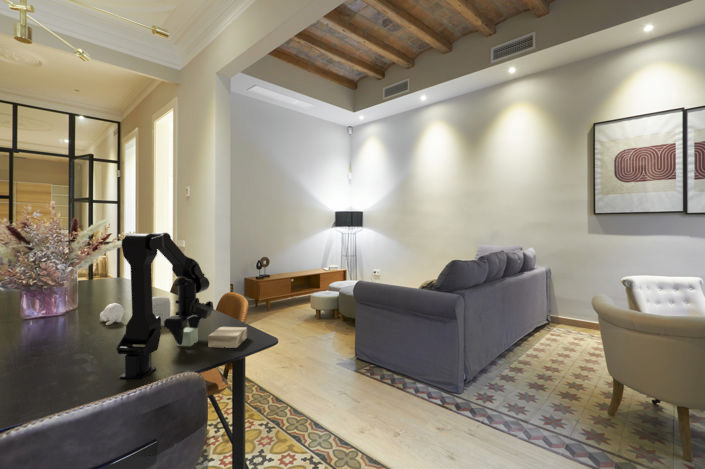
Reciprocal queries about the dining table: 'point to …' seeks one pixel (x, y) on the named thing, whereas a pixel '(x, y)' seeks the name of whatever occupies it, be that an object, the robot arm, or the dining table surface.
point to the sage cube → (189, 337)
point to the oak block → (227, 337)
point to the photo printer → (161, 308)
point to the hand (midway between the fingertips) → (187, 339)
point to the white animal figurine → (112, 313)
